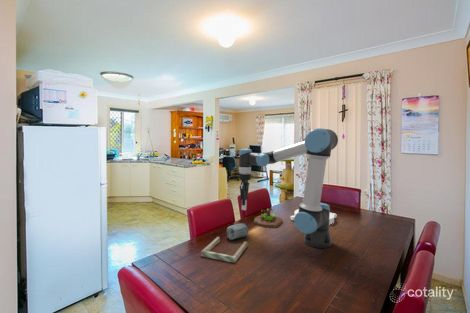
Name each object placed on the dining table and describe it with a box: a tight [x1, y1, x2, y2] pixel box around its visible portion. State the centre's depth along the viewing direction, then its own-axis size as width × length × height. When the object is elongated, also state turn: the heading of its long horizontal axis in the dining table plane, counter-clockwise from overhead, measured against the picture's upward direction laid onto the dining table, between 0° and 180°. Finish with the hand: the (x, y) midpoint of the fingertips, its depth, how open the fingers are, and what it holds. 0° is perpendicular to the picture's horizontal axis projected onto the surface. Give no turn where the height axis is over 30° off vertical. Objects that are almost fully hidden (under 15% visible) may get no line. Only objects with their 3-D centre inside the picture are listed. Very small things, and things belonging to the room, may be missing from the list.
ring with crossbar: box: [289, 208, 338, 226], centre depth 181 cm, size 28×28×5 cm
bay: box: [200, 236, 248, 264], centre depth 129 cm, size 18×20×2 cm
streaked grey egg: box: [226, 223, 249, 241], centre depth 146 cm, size 14×10×10 cm
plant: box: [253, 207, 284, 229], centre depth 173 cm, size 20×20×11 cm
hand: (243, 209), depth 157 cm, fingers closed
